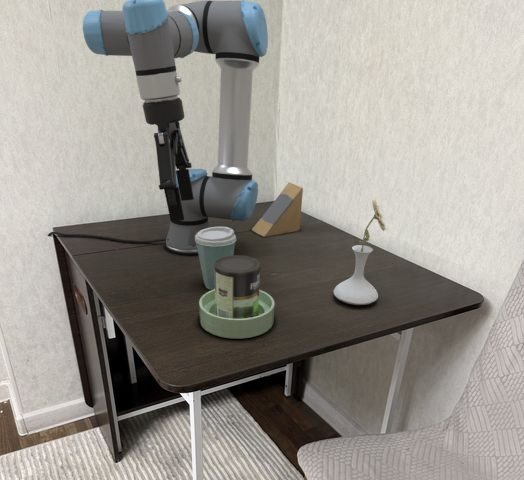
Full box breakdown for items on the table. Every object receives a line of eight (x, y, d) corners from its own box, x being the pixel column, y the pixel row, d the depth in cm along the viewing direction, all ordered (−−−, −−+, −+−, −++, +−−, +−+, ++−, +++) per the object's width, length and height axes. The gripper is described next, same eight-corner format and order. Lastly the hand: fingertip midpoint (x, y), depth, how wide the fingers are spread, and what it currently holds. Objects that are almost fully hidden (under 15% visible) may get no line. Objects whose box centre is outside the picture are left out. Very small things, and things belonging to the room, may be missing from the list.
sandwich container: (250, 229, 169) (251, 186, 161) (286, 223, 176) (288, 181, 168) (263, 237, 163) (264, 192, 155) (299, 230, 170) (303, 187, 162)
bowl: (185, 326, 110) (184, 307, 107) (225, 298, 123) (225, 280, 120) (250, 347, 103) (250, 327, 100) (285, 315, 116) (287, 296, 113)
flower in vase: (367, 313, 118) (384, 212, 105) (325, 301, 123) (336, 203, 110) (385, 295, 127) (403, 200, 114) (345, 284, 132) (358, 192, 119)
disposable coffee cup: (205, 296, 123) (203, 240, 115) (190, 280, 131) (187, 227, 123) (242, 289, 127) (243, 234, 119) (226, 274, 135) (225, 222, 127)
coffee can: (262, 312, 116) (264, 257, 109) (253, 333, 107) (255, 275, 100) (221, 307, 118) (220, 252, 110) (209, 327, 109) (207, 269, 101)
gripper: (168, 106, 80) (191, 228, 92) (190, 89, 101) (206, 190, 113) (125, 111, 81) (153, 231, 93) (155, 93, 102) (175, 193, 113)
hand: (182, 209), depth 103 cm, fingers open, 13 cm apart
